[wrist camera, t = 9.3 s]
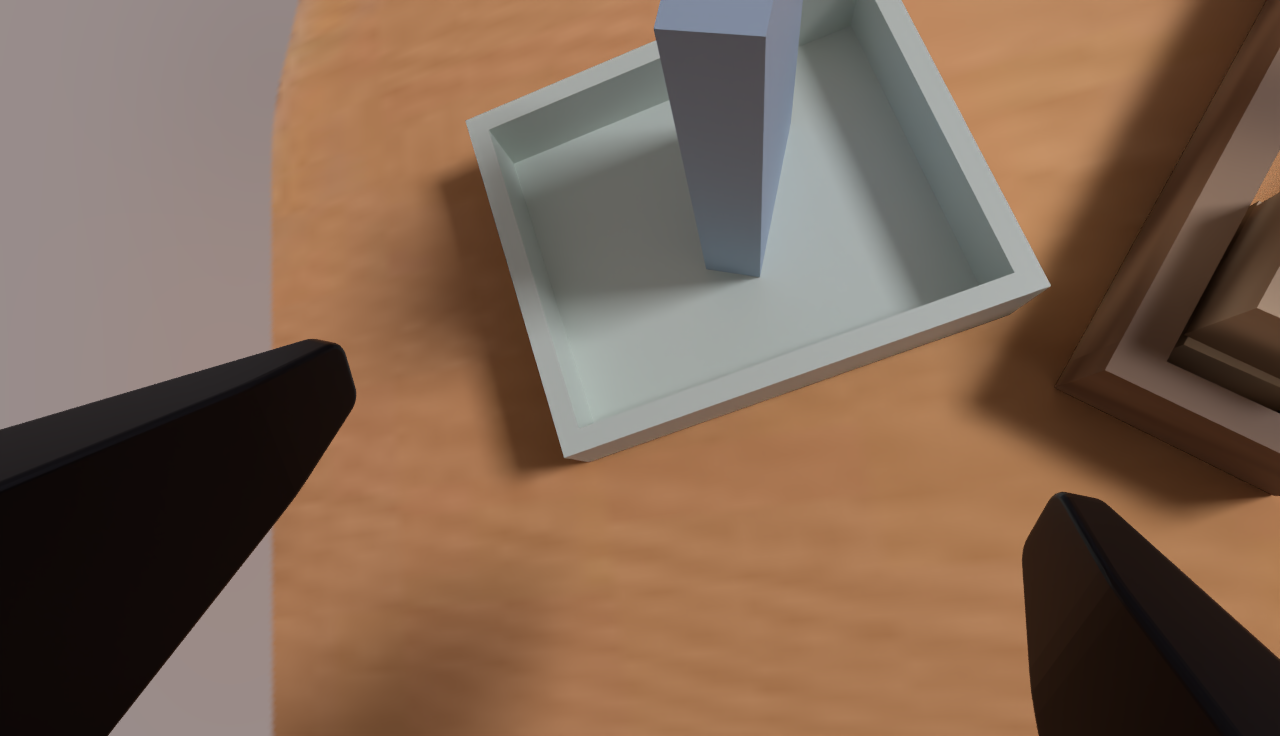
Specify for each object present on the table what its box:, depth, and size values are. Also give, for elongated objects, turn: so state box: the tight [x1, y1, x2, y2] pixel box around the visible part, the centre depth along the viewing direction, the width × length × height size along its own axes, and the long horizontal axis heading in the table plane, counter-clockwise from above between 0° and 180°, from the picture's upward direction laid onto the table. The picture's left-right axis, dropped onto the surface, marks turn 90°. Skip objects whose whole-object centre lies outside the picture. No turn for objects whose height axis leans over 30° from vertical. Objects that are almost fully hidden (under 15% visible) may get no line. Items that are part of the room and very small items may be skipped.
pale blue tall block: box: [654, 0, 803, 277], centre depth 14 cm, size 5×2×10 cm, turn 167°
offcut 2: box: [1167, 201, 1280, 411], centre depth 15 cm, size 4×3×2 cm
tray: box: [466, 0, 1051, 462], centre depth 18 cm, size 13×11×2 cm
